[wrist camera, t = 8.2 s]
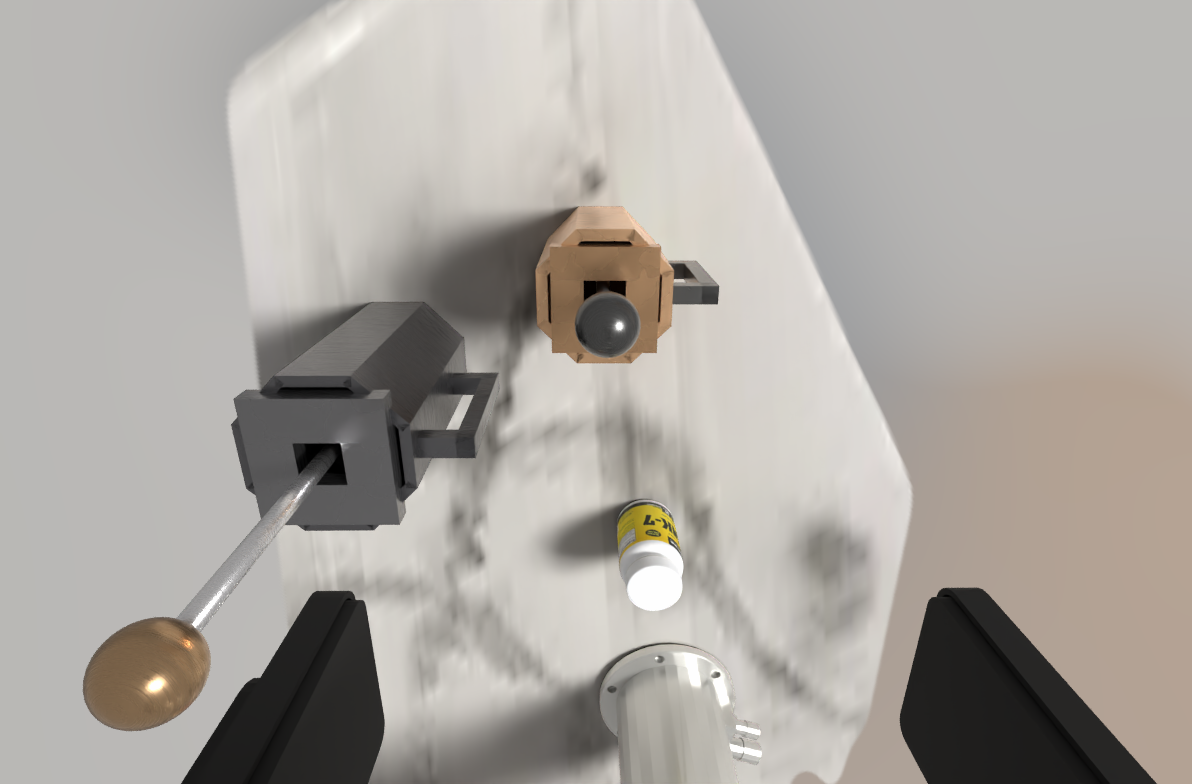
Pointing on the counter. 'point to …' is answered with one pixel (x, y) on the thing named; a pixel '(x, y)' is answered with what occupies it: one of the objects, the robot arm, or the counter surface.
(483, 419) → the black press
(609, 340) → the grey ball handle
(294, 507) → the plunger rod
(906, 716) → the robot arm
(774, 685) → the counter surface
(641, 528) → the supplement bottle
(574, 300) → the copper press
